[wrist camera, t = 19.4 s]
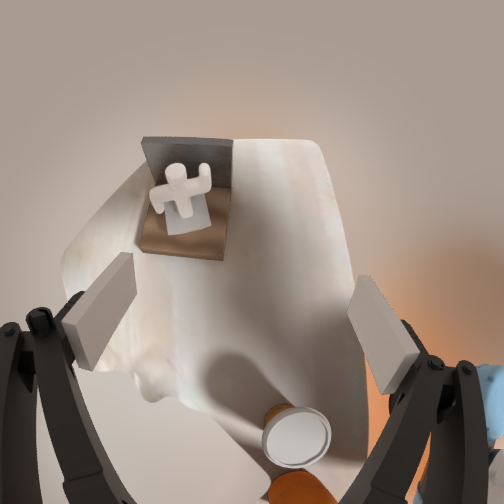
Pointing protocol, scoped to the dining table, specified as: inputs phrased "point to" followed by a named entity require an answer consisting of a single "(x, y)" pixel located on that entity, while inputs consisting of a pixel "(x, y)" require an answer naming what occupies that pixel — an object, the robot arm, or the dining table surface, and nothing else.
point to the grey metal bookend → (190, 157)
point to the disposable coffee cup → (295, 436)
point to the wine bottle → (299, 490)
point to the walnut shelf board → (192, 243)
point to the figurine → (183, 199)
